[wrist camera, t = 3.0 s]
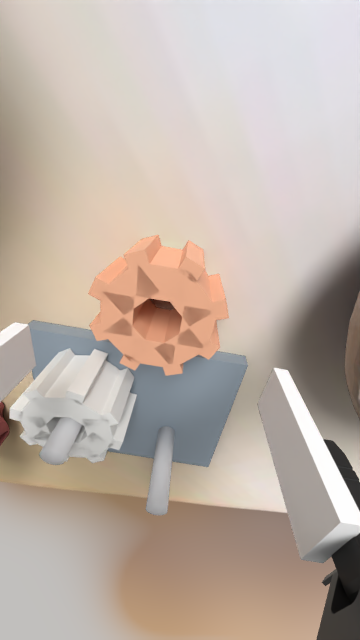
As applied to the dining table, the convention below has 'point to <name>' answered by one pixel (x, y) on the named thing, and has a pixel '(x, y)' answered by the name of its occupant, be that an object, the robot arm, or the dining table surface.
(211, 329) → the terracotta gear
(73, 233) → the dining table surface
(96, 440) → the white gear
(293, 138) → the dining table surface
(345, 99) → the dining table surface
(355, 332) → the bowl
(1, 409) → the mechanical component
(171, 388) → the gear board
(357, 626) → the robot arm
